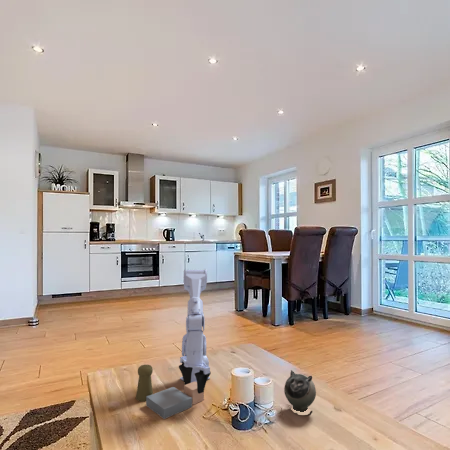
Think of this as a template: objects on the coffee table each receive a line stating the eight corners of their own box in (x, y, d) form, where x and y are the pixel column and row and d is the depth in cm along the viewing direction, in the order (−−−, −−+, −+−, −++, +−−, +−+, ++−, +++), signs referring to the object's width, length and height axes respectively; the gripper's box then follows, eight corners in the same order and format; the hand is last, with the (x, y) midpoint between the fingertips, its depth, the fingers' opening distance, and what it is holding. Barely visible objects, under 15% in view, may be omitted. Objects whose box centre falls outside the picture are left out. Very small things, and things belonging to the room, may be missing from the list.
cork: (148, 402, 111) (149, 369, 112) (132, 400, 113) (133, 368, 113) (155, 394, 117) (156, 363, 118) (140, 392, 118) (141, 361, 119)
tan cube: (194, 395, 117) (195, 381, 117) (203, 400, 114) (204, 385, 114) (183, 399, 114) (184, 385, 114) (192, 405, 110) (192, 390, 110)
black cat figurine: (282, 415, 105) (315, 421, 101) (281, 377, 105) (314, 381, 102) (286, 401, 114) (317, 405, 111) (286, 366, 115) (316, 369, 111)
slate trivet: (173, 395, 117) (173, 386, 117) (191, 406, 109) (192, 397, 109) (146, 405, 109) (146, 396, 109) (163, 419, 101) (164, 409, 101)
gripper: (173, 346, 117) (172, 385, 116) (198, 357, 106) (198, 399, 106) (189, 342, 122) (188, 379, 121) (214, 352, 111) (214, 393, 111)
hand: (194, 388), depth 114 cm, fingers open, 7 cm apart
